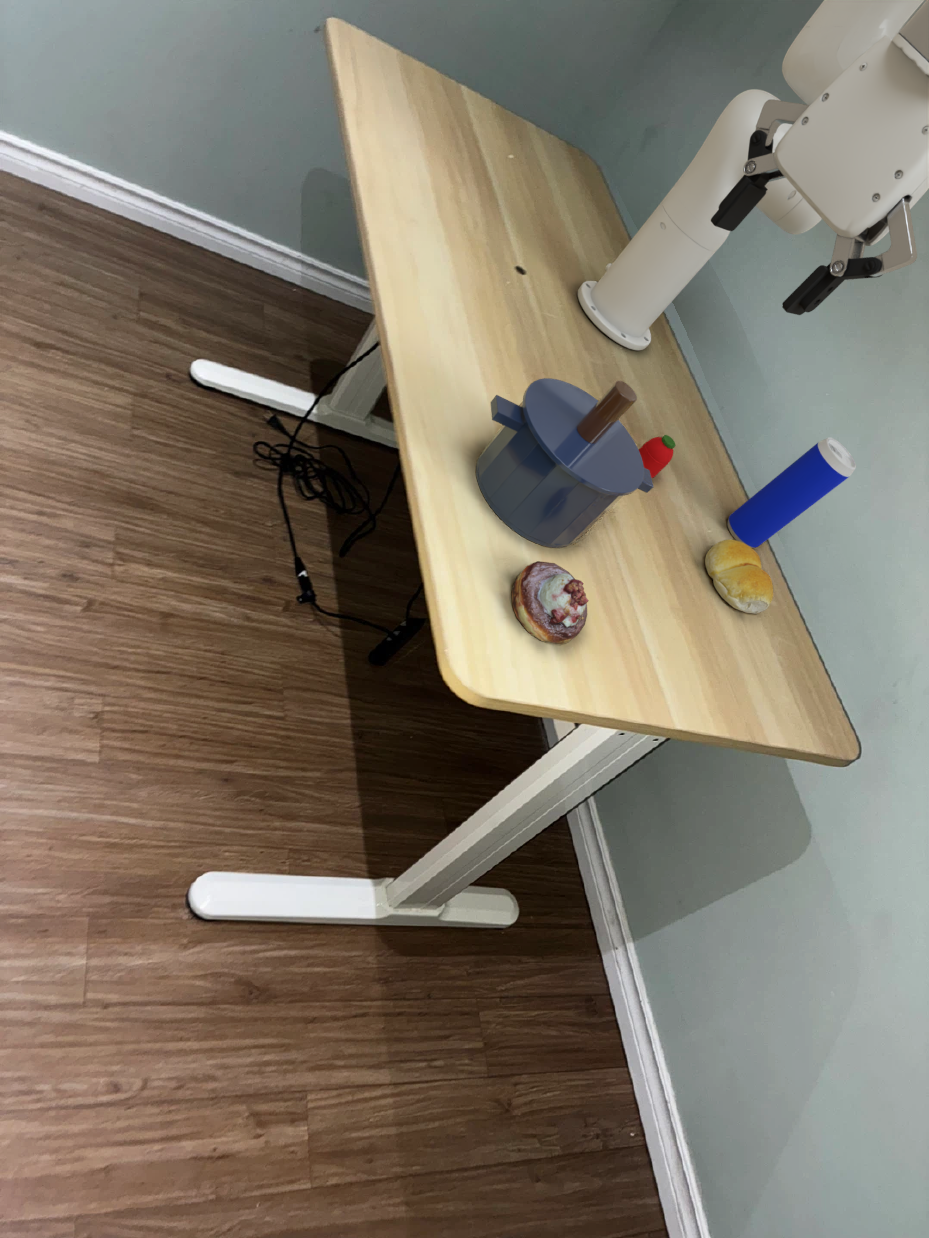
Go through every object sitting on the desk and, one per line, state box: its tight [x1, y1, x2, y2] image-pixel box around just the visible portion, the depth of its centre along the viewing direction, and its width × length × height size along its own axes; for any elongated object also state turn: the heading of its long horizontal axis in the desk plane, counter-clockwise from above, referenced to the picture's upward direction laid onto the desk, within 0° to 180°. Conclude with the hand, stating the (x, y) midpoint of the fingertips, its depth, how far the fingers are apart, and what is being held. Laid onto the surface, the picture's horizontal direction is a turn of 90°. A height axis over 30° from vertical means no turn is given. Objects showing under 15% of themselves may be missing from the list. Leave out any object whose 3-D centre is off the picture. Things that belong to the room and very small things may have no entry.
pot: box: [475, 394, 654, 549], centre depth 77 cm, size 13×18×8 cm
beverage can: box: [727, 437, 857, 549], centre depth 96 cm, size 5×5×15 cm
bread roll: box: [704, 538, 774, 614], centre depth 91 cm, size 8×9×4 cm
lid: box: [522, 377, 644, 497], centre depth 73 cm, size 14×14×7 cm
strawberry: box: [638, 434, 676, 479], centre depth 95 cm, size 4×4×4 cm
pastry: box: [511, 560, 589, 645], centre depth 70 cm, size 8×8×5 cm
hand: (755, 268), depth 66 cm, fingers open, 9 cm apart
